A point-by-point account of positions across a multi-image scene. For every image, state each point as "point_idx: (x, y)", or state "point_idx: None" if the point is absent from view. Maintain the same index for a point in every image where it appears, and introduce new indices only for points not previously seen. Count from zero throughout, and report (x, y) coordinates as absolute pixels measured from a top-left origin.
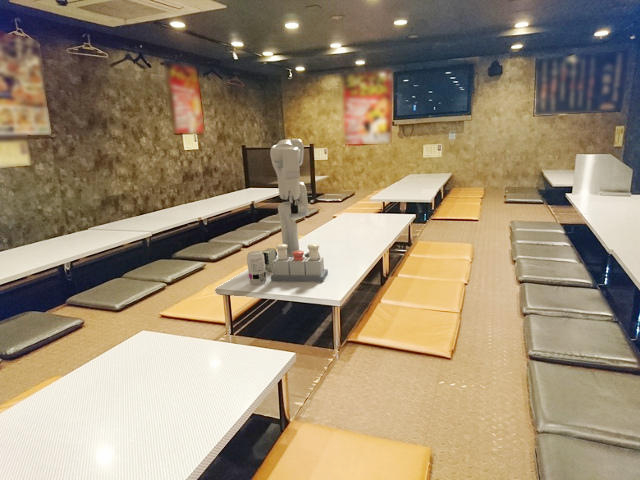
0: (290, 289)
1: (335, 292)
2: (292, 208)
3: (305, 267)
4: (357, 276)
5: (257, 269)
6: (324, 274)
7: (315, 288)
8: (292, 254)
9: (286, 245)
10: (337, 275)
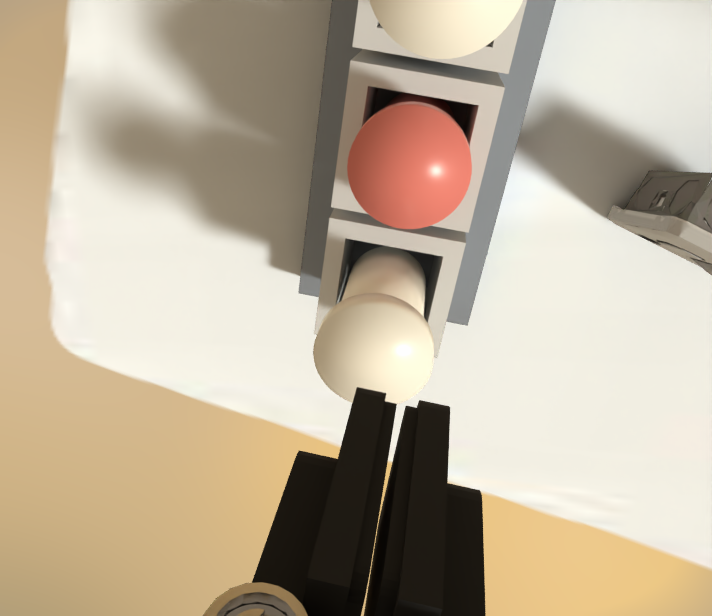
0: (169, 66)
1: (137, 339)
2: (269, 539)
3: None
4: None
5: None
6: None
7: (193, 234)
8: (387, 107)
9: (433, 47)
10: None
